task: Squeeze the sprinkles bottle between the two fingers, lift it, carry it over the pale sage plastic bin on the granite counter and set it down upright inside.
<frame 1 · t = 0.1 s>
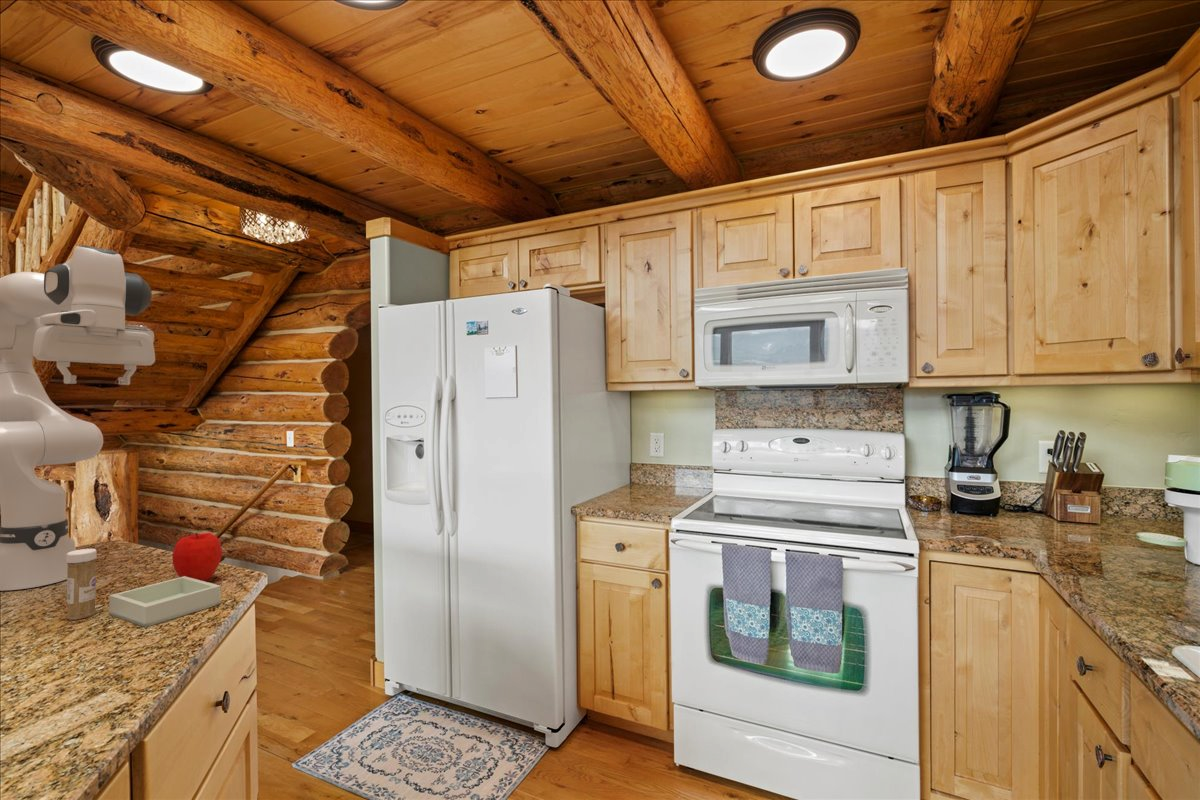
hand: (98, 384, 121), 48 cm above the countertop, fingers open, 8 cm apart
sprinkles bottle: (81, 617, 114), on the countertop
apple: (197, 582, 136), on the countertop
bin: (166, 609, 118), on the countertop
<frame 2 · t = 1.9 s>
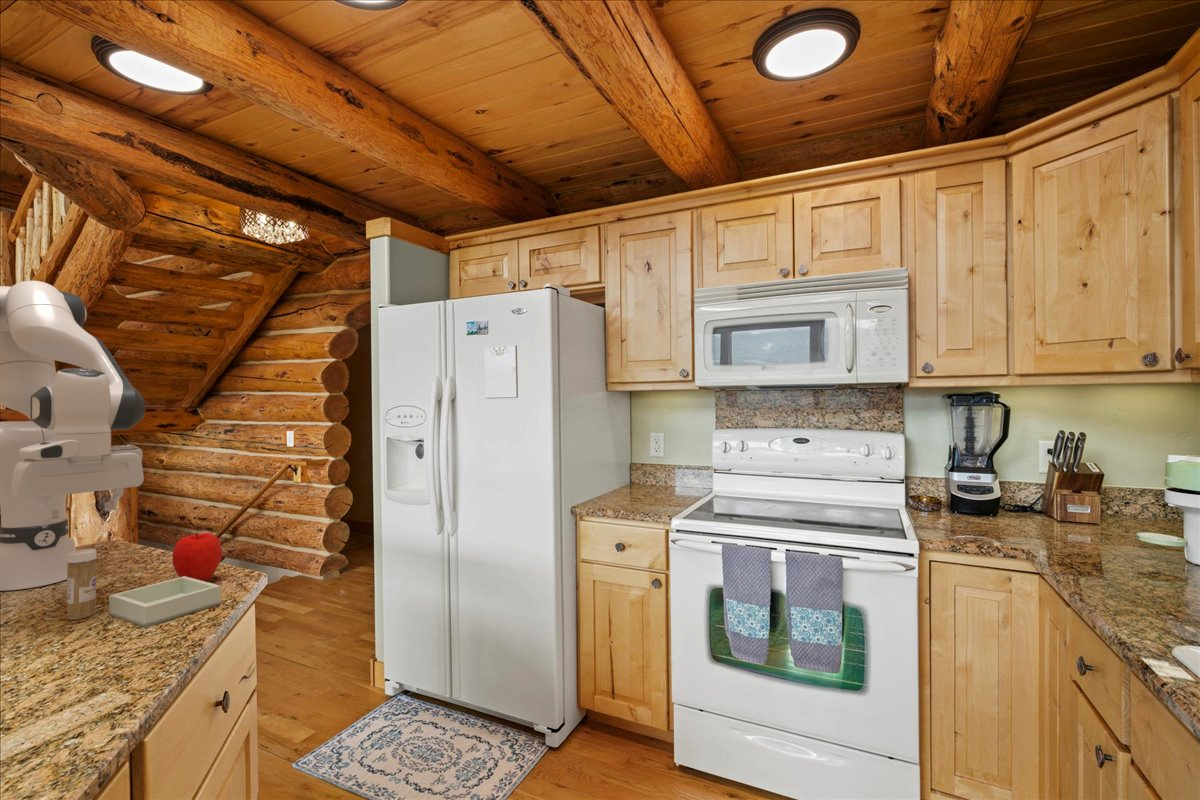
hand: (82, 514, 114), 21 cm above the countertop, fingers open, 8 cm apart
nothing on the countertop moved.
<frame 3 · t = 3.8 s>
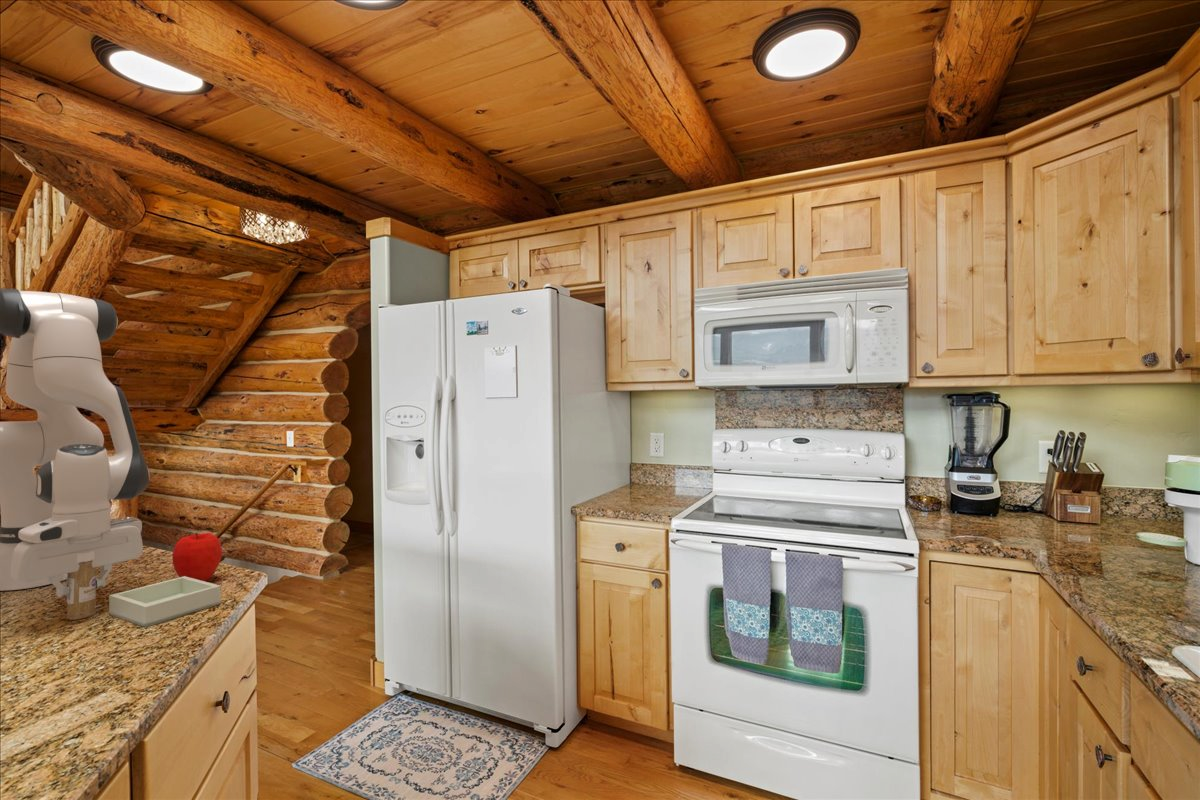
hand: (81, 591, 114), 5 cm above the countertop, fingers closed on sprinkles bottle, 4 cm apart
sprinkles bottle: (81, 617, 114), on the countertop, touching gripper
everything else where it was.
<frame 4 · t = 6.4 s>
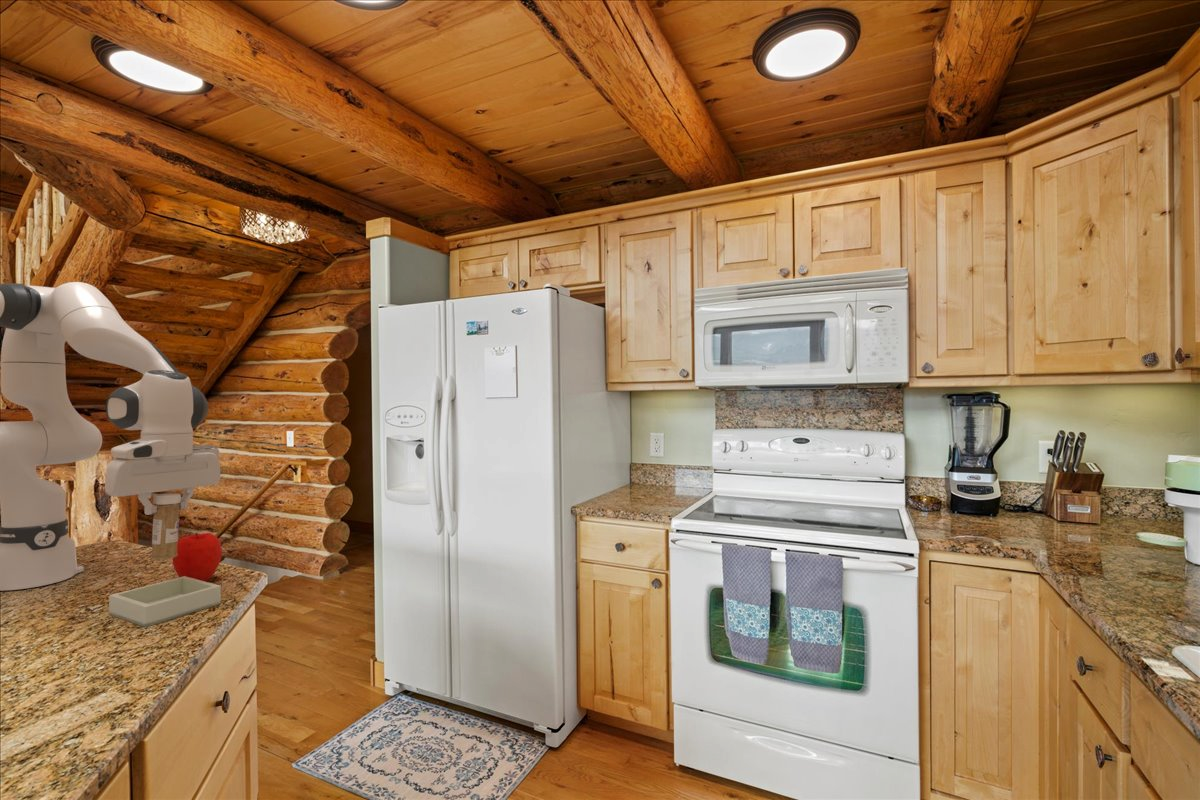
hand: (166, 511, 118), 21 cm above the countertop, fingers closed on sprinkles bottle, 4 cm apart
sprinkles bottle: (163, 558, 118), point 11 cm above the countertop, touching gripper
everything else where it was.
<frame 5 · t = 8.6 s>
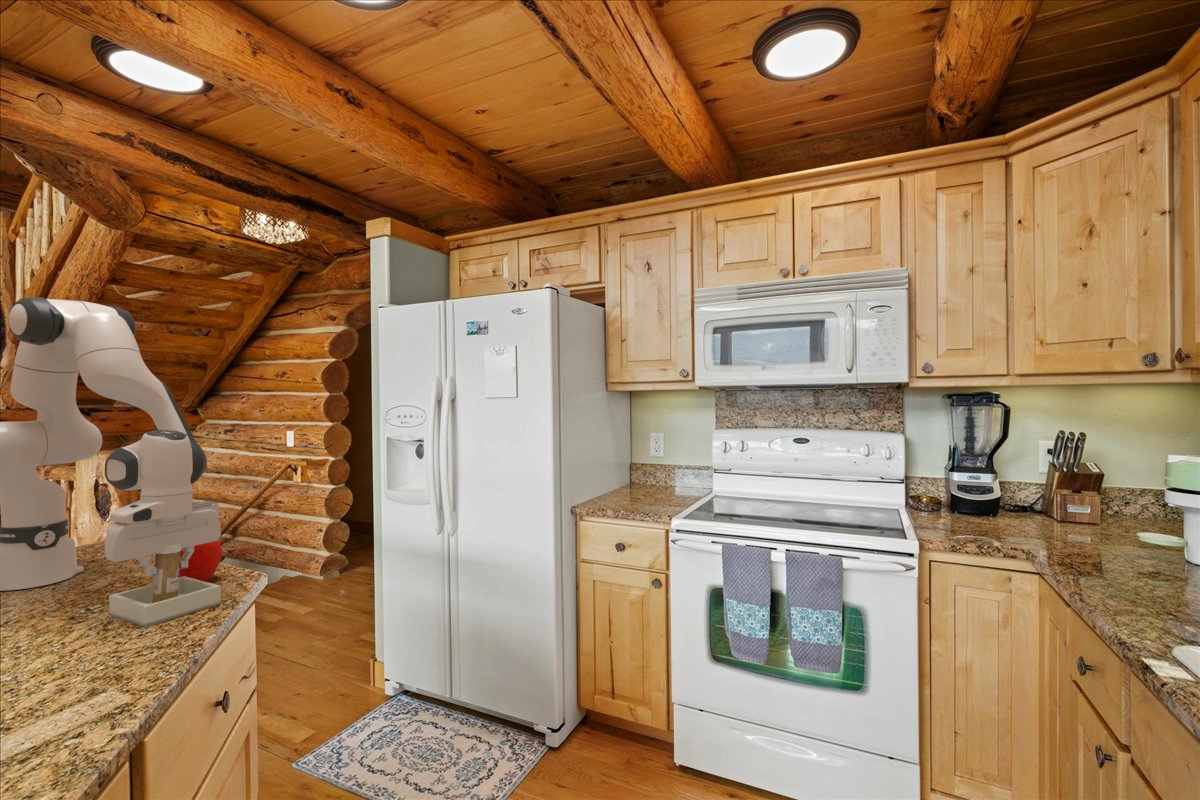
hand: (166, 571, 118), 8 cm above the countertop, fingers closed on sprinkles bottle, 4 cm apart
sprinkles bottle: (164, 607, 118), point 1 cm above the countertop, touching bin, gripper
everything else where it was.
when the fingers open (7 cm above the countertop, at t = 9.3 s): sprinkles bottle stays where it is, resting on bin.
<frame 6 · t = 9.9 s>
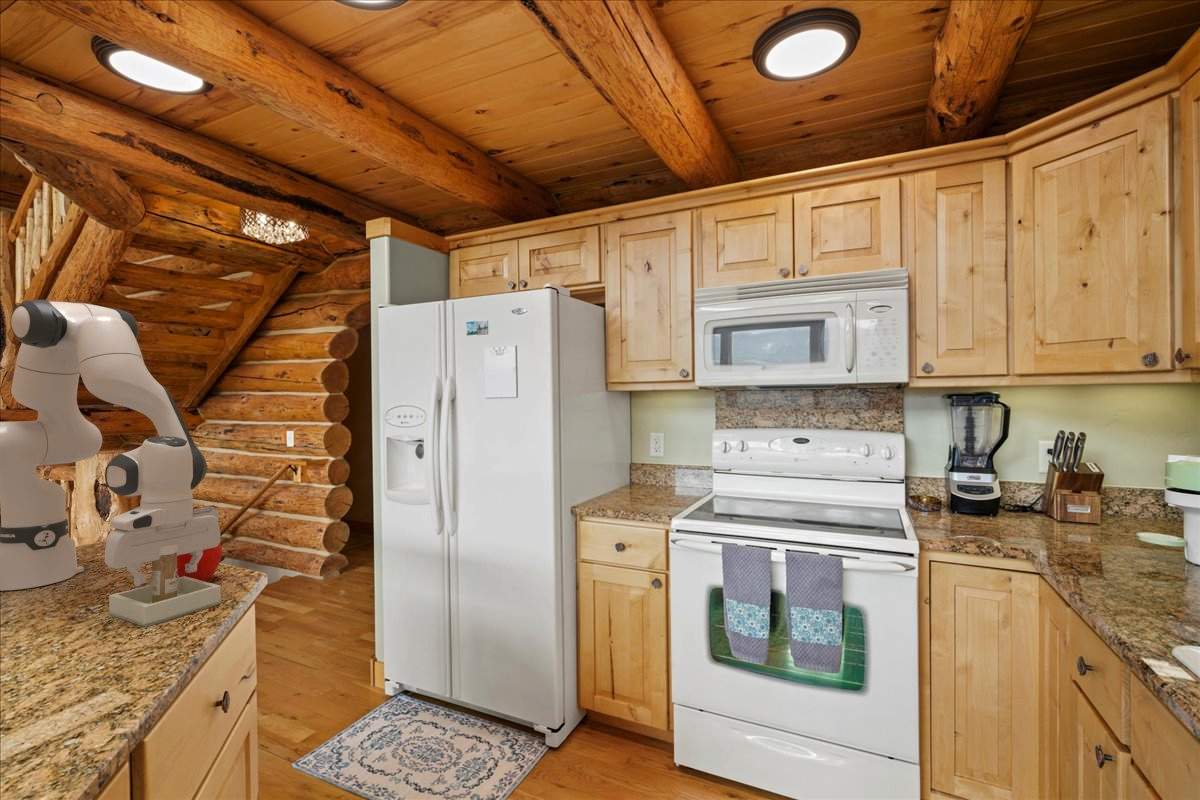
hand: (166, 578, 118), 7 cm above the countertop, fingers open, 8 cm apart
sprinkles bottle: (164, 608, 118), resting on bin
everything else where it was.
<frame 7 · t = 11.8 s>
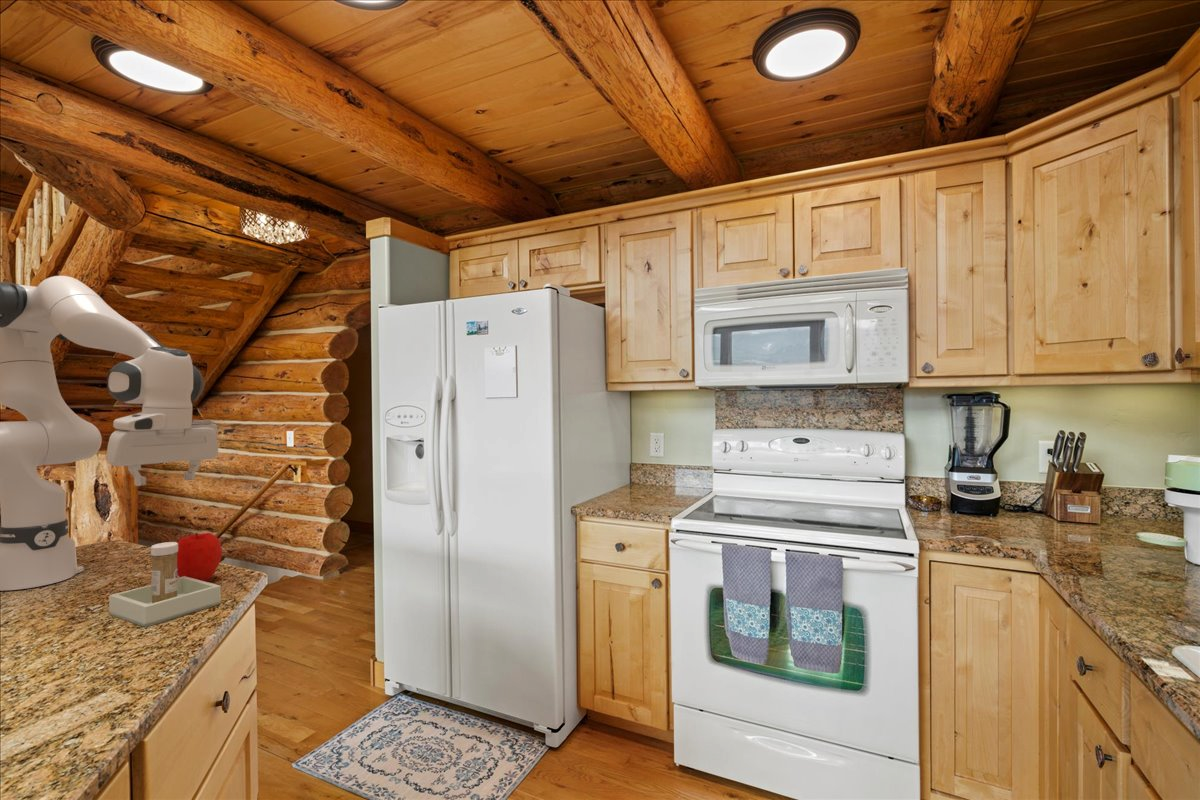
hand: (165, 482, 123), 26 cm above the countertop, fingers open, 8 cm apart
nothing on the countertop moved.
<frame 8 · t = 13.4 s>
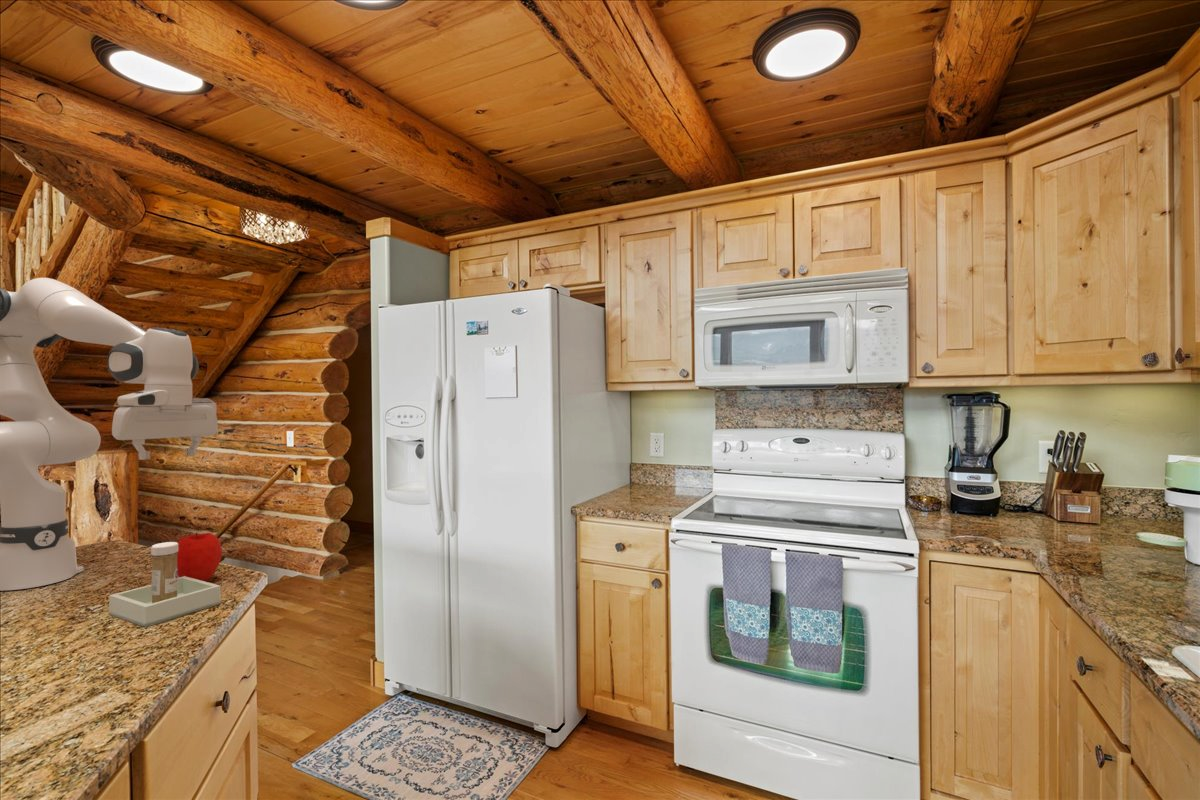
hand: (168, 457, 129), 31 cm above the countertop, fingers open, 8 cm apart
nothing on the countertop moved.
at the end: sprinkles bottle inside the target area on the bin (0.6 cm from its centre), point 0.4 cm above the bin's base; sprinkles bottle tilted 0°; the gripper is holding nothing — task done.
